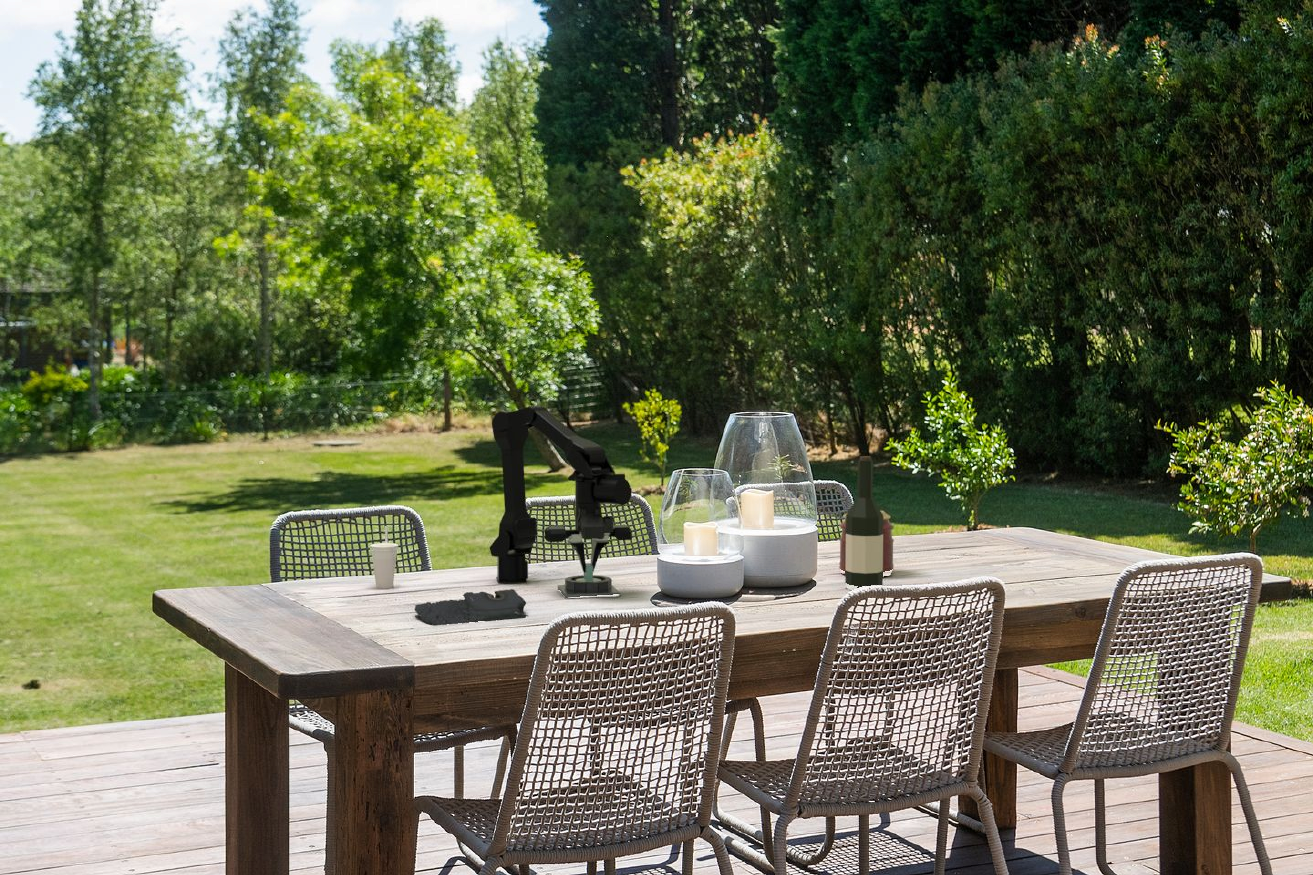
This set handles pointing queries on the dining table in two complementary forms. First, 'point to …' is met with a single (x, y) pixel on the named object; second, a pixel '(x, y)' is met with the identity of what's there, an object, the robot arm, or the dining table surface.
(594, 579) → the cap
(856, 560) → the wine bottle
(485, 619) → the dark slate chunk
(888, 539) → the canister
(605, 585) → the square ring flange
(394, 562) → the smoothie
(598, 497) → the robot arm
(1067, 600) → the dining table surface
